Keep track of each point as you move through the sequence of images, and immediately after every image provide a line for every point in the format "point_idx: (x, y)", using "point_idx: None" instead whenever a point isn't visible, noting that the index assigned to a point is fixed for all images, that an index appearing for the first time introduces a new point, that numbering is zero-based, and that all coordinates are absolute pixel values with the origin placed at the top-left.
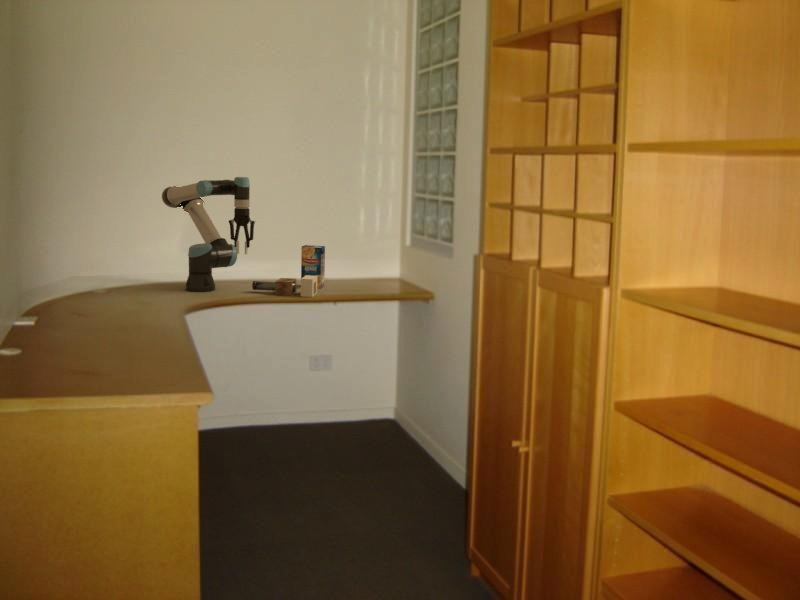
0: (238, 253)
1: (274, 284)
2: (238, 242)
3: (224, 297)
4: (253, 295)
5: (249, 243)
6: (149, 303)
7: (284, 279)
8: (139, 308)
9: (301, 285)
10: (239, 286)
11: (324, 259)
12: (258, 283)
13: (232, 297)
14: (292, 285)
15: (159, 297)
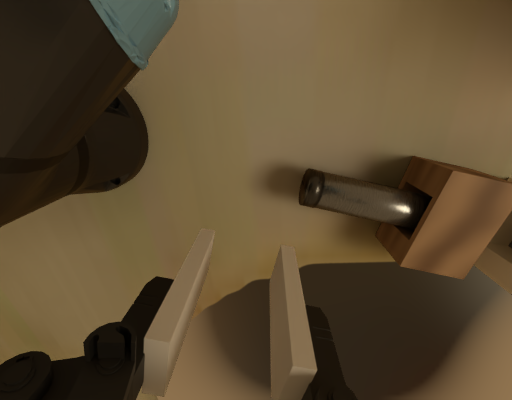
0: (211, 251)
1: (393, 224)
2: (175, 346)
3: (211, 272)
4: (299, 240)
5: (335, 356)
6: (51, 341)
7: (457, 212)
8: None
9: (494, 280)
10: (234, 23)
11: None
12: (327, 209)
13: (235, 272)
14: None
15: (31, 276)
